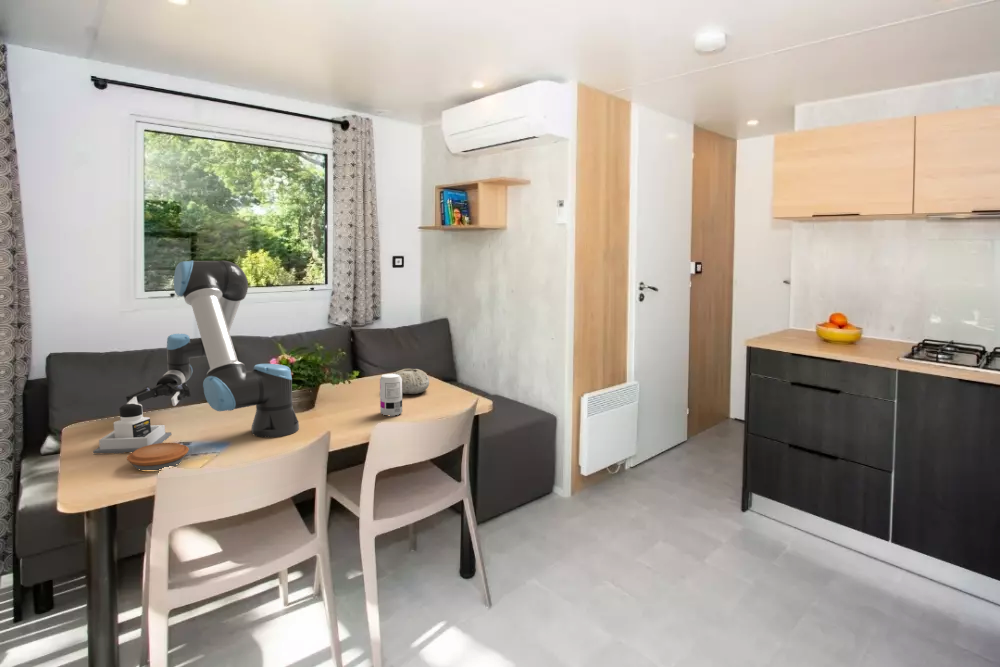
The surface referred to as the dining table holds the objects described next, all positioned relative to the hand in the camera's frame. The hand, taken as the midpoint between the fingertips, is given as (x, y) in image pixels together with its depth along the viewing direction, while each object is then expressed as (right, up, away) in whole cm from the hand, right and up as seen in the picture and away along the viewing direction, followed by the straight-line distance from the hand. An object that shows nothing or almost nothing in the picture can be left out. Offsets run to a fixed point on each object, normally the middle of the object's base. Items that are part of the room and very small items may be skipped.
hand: (151, 404), depth 192 cm
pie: (+18, -14, -25) cm, 34 cm away
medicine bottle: (0, -11, -9) cm, 14 cm away
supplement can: (+75, -7, +28) cm, 81 cm away
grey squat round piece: (+77, -2, +60) cm, 98 cm away
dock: (0, -11, -9) cm, 15 cm away
